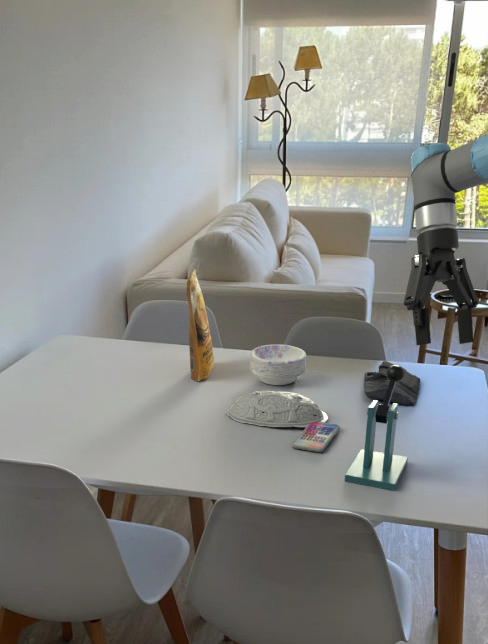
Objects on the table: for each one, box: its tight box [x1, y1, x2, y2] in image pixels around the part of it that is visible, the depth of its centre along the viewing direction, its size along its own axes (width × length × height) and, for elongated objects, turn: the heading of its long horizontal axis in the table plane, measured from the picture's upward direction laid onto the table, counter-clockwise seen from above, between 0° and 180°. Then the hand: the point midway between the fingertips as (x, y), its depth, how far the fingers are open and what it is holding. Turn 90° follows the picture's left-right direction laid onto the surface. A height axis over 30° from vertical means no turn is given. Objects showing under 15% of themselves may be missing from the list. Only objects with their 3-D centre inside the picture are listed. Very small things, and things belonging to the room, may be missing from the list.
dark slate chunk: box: [363, 360, 421, 406], centre depth 187 cm, size 15×22×5 cm
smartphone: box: [291, 421, 341, 453], centre depth 160 cm, size 7×1×15 cm
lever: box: [375, 364, 404, 425], centre depth 142 cm, size 14×4×4 cm, turn 157°
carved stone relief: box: [225, 390, 329, 428], centre depth 171 cm, size 16×25×7 cm, turn 73°
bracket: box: [344, 399, 409, 492], centre depth 142 cm, size 13×10×15 cm
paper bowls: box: [249, 344, 307, 386], centre depth 193 cm, size 15×15×8 cm
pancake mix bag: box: [186, 268, 215, 382], centre depth 194 cm, size 7×19×28 cm, turn 171°
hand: (445, 343), depth 135 cm, fingers open, 13 cm apart
